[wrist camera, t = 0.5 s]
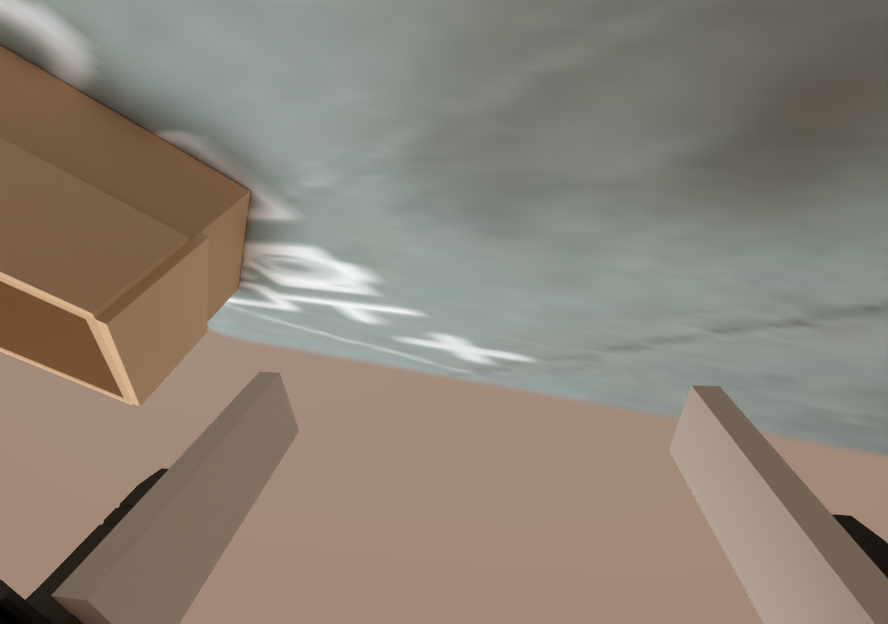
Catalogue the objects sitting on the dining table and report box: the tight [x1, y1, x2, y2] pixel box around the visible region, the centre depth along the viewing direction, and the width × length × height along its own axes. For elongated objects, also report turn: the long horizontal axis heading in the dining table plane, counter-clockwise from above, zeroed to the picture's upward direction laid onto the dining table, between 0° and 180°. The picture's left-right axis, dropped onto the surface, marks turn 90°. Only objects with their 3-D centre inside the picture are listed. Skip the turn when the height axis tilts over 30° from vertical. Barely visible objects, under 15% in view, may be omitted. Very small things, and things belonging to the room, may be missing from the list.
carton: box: [0, 45, 251, 406], centre depth 23 cm, size 16×13×12 cm
